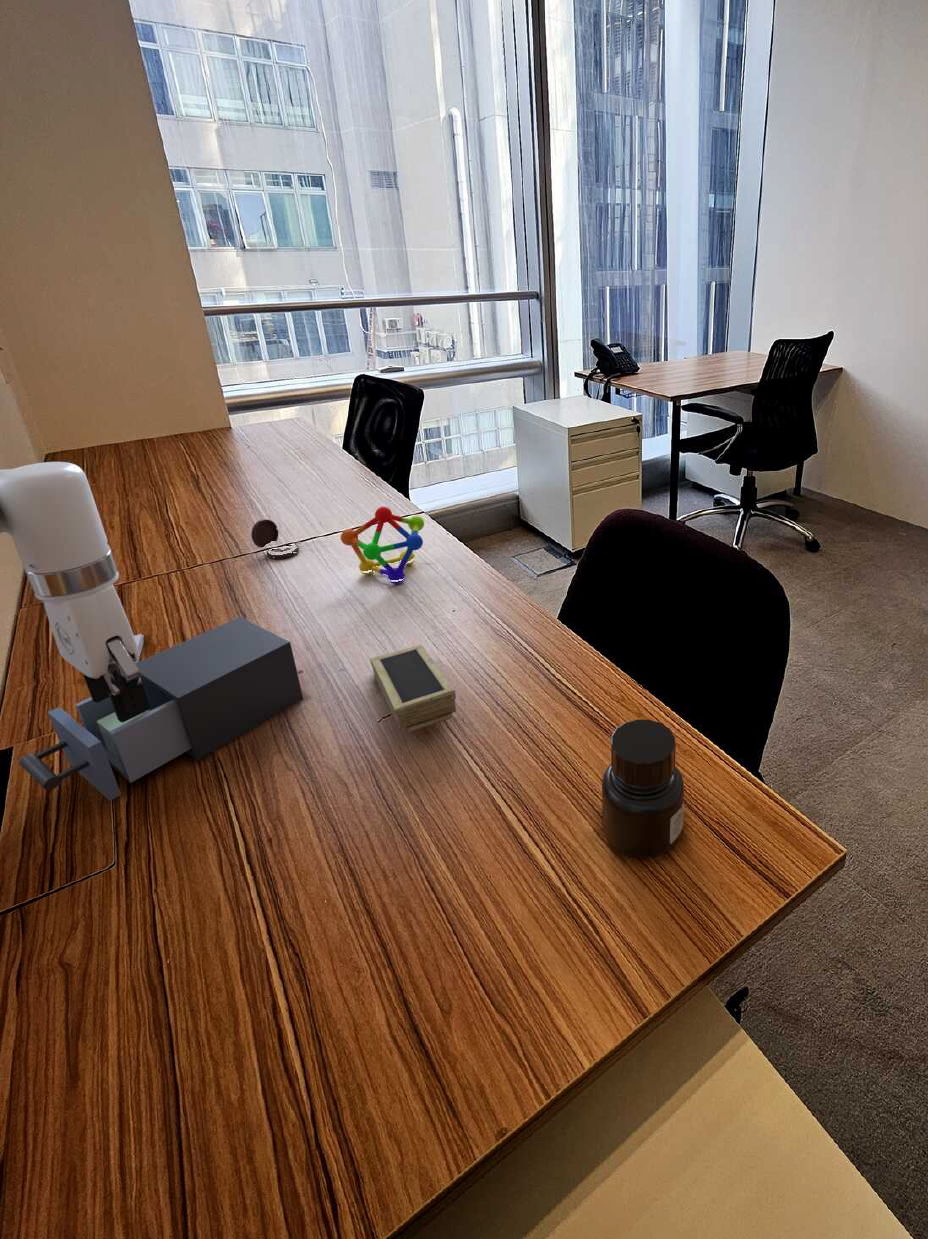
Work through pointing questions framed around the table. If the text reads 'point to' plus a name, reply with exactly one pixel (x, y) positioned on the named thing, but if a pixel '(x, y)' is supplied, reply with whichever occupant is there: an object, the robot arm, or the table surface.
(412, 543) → the educational toy
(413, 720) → the box
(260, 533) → the compass
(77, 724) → the drawer
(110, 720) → the block
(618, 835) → the ink bottle
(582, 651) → the table surface
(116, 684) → the robot arm
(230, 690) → the cabinet
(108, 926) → the table surface
